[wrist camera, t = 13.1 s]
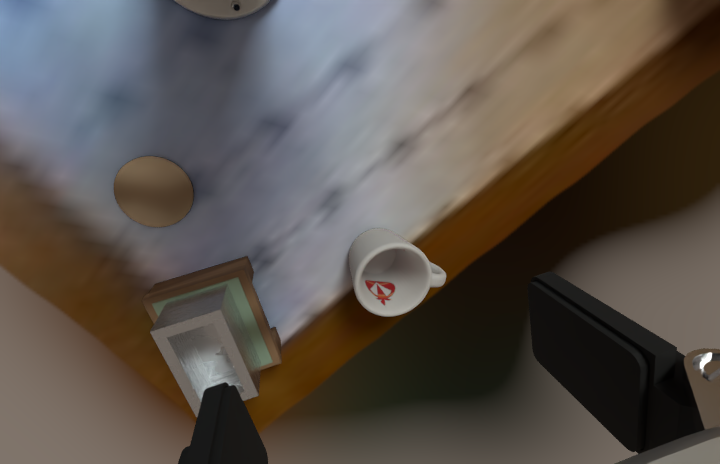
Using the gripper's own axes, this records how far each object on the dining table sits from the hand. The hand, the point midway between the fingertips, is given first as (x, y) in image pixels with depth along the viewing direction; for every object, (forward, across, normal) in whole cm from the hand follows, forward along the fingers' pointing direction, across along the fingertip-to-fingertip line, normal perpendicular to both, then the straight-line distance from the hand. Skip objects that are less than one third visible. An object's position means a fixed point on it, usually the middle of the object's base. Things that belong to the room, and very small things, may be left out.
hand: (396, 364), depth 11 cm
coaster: (+30, +15, -3) cm, 34 cm away
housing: (+26, +14, +12) cm, 32 cm away
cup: (+31, -6, +11) cm, 33 cm away
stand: (+30, +14, +12) cm, 35 cm away
